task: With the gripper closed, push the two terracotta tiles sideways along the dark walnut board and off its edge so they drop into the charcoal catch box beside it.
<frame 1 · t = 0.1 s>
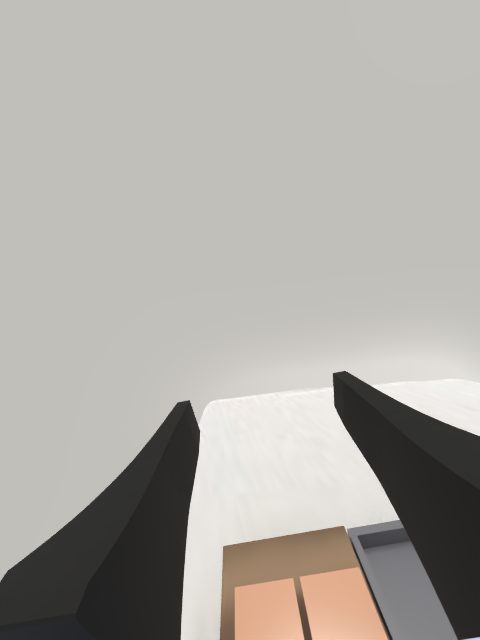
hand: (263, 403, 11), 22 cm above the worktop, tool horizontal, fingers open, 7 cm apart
catch box: (469, 639, 16), on the worktop
tile 1: (345, 635, 15), point 3 cm above the worktop, touching board
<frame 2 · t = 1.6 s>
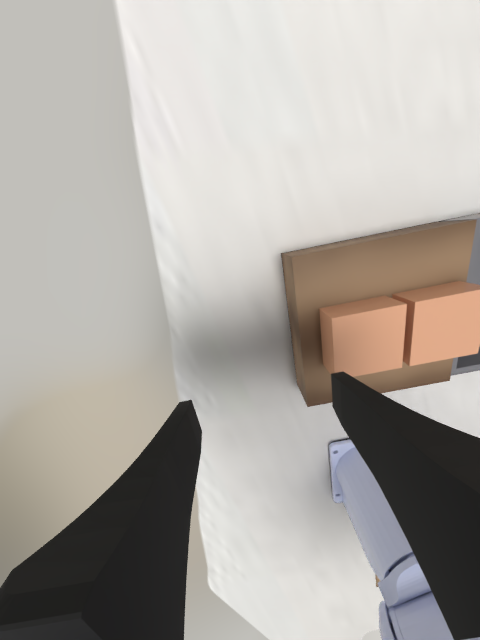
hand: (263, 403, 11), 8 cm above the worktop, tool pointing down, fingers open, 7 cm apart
board: (357, 312, 19), on the worktop
tile 1: (422, 318, 16), point 3 cm above the worktop, touching board
tile 2: (352, 331, 16), point 3 cm above the worktop, touching board
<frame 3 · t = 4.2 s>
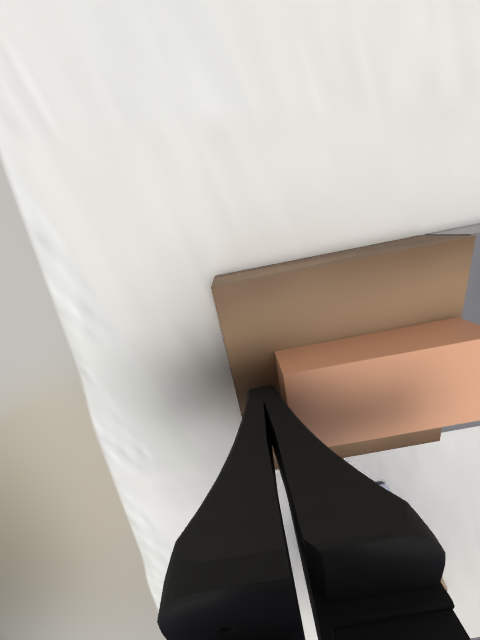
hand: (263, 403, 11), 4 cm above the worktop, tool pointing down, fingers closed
board: (322, 349, 15), on the worktop
tile 1: (407, 365, 12), point 3 cm above the worktop, touching tile 2
tile 2: (322, 380, 12), point 3 cm above the worktop, touching board, gripper, tile 1
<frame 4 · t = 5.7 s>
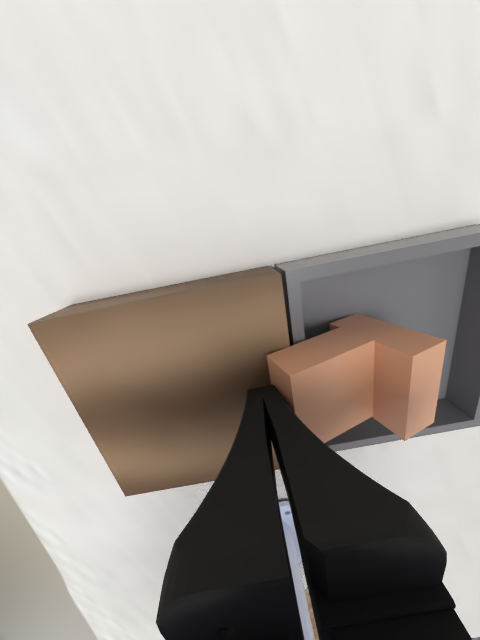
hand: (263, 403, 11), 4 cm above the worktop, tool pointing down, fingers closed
catch box: (372, 340, 15), on the worktop
board: (196, 373, 15), on the worktop
tile 1: (363, 375, 11), point 3 cm above the worktop, tilted 109°, touching catch box
tile 2: (309, 377, 12), point 3 cm above the worktop, tilted 19°, touching gripper
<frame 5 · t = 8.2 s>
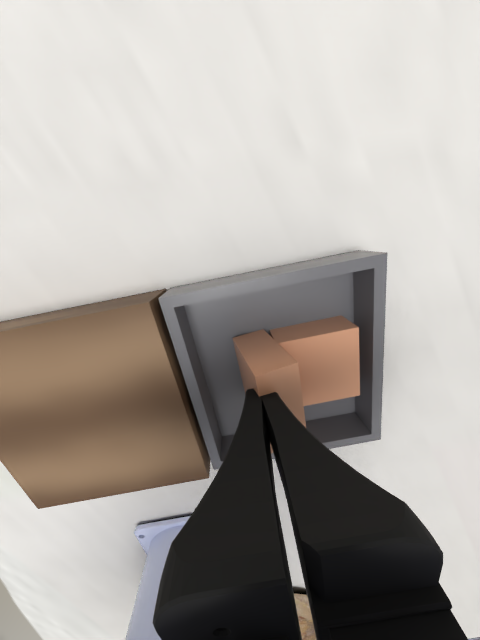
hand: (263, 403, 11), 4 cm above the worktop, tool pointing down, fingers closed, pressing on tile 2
fish fossil: (280, 631, 30), on the worktop
catch box: (277, 357, 15), on the worktop
board: (110, 389, 15), on the worktop
tile 1: (320, 371, 13), point 2 cm above the worktop, tilted 180°, touching catch box, tile 2
tile 2: (249, 389, 12), point 3 cm above the worktop, tilted 102°, touching catch box, gripper, tile 1
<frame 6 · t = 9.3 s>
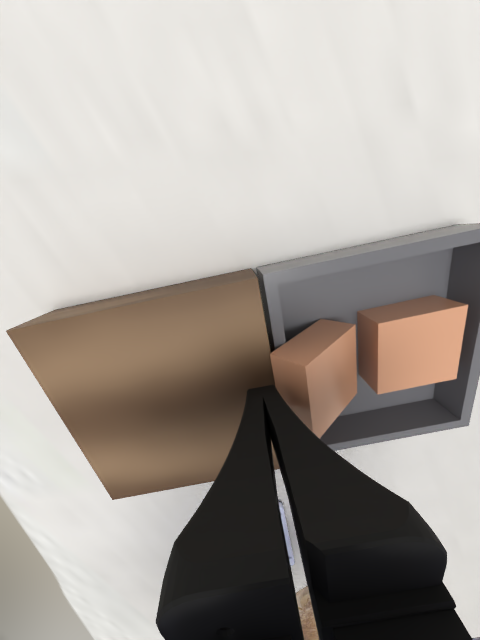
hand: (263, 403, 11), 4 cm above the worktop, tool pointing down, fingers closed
fish fossil: (322, 622, 30), on the worktop
catch box: (357, 341, 14), on the worktop
board: (182, 376, 15), on the worktop
tile 1: (419, 352, 12), point 2 cm above the worktop, tilted 180°, touching catch box
tile 2: (302, 369, 13), point 2 cm above the worktop, tilted 38°, touching catch box
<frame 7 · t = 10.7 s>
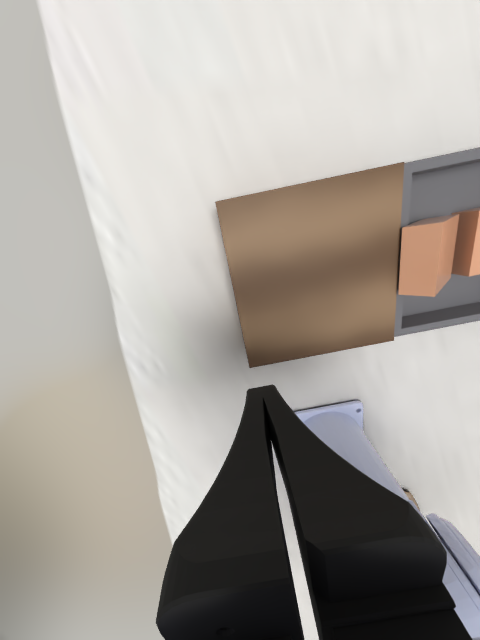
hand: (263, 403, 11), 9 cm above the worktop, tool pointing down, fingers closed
catch box: (445, 244, 18), on the worktop
board: (302, 273, 18), on the worktop
tile 2: (410, 255, 16), point 2 cm above the worktop, tilted 38°, touching catch box
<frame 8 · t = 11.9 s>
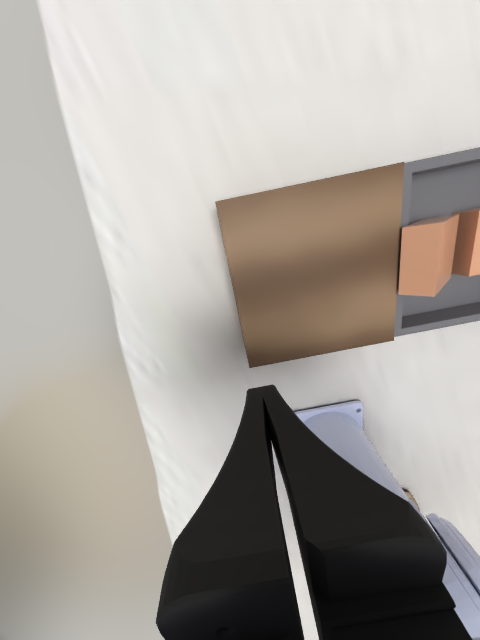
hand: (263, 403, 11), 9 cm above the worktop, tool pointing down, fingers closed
catch box: (445, 244, 18), on the worktop
board: (302, 273, 18), on the worktop
tile 2: (410, 255, 16), point 2 cm above the worktop, tilted 38°, touching catch box
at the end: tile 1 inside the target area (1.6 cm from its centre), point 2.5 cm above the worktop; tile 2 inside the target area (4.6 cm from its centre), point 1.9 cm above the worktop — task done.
